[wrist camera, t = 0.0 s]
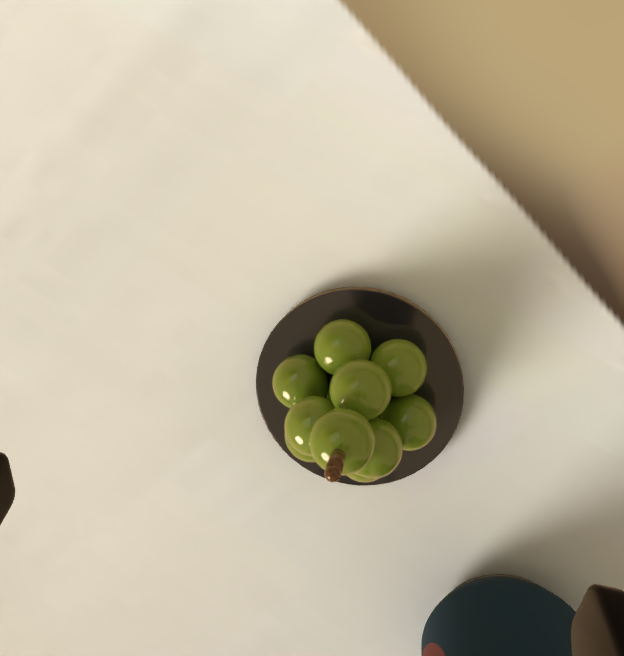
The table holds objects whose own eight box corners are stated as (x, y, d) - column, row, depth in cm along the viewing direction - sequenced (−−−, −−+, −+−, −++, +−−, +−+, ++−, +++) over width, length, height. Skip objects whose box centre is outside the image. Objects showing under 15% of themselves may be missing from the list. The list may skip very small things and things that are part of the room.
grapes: (349, 513, 26) (321, 645, 19) (219, 371, 26) (139, 452, 18) (507, 402, 24) (545, 506, 16) (368, 242, 23) (344, 276, 16)
